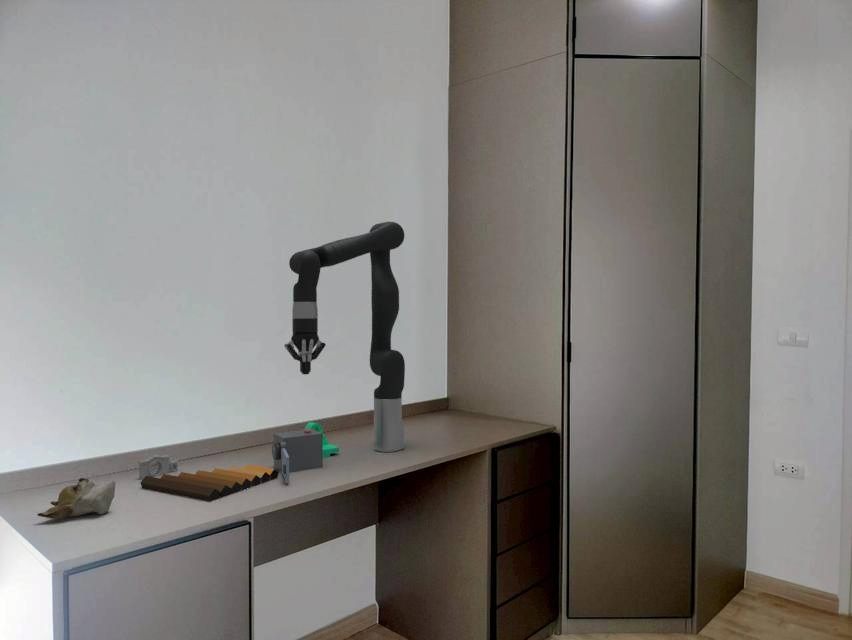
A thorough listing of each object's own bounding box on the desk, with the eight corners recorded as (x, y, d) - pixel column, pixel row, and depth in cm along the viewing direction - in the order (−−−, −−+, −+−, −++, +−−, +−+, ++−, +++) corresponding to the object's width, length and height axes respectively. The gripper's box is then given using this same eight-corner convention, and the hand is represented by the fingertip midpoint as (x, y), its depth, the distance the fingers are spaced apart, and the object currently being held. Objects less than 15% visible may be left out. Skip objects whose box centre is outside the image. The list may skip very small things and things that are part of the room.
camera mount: (306, 461, 196) (306, 428, 195) (294, 456, 201) (294, 424, 201) (339, 455, 203) (339, 423, 203) (327, 451, 209) (326, 420, 209)
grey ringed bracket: (175, 470, 185) (174, 449, 185) (179, 470, 184) (178, 450, 184) (137, 479, 175) (137, 458, 175) (141, 480, 174) (141, 458, 174)
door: (290, 483, 169) (289, 456, 169) (283, 483, 168) (283, 457, 168) (285, 471, 181) (285, 447, 180) (279, 472, 180) (279, 447, 180)
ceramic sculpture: (109, 480, 141) (34, 489, 138) (112, 518, 142) (37, 528, 138) (119, 468, 152) (49, 477, 148) (122, 504, 152) (52, 514, 148)
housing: (311, 461, 194) (311, 426, 194) (325, 468, 186) (324, 431, 186) (269, 467, 187) (269, 431, 187) (281, 475, 179) (281, 436, 179)
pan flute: (140, 490, 166) (209, 504, 154) (140, 477, 166) (209, 490, 154) (213, 468, 188) (278, 479, 176) (213, 457, 188) (278, 467, 176)
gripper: (320, 316, 199) (320, 371, 199) (279, 317, 192) (279, 374, 192) (330, 317, 193) (330, 374, 193) (288, 317, 185) (289, 376, 186)
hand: (305, 374), depth 193 cm, fingers closed
